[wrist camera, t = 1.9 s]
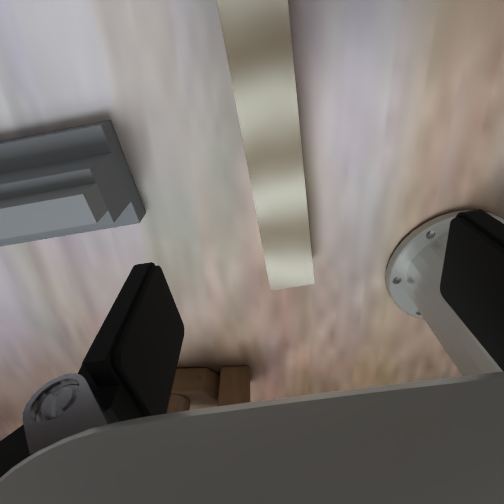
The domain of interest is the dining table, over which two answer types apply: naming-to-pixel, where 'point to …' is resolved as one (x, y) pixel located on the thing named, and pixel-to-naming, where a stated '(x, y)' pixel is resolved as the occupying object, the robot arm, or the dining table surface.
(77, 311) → the dining table surface
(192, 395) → the wooden block
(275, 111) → the birch bar
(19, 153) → the ridge block
